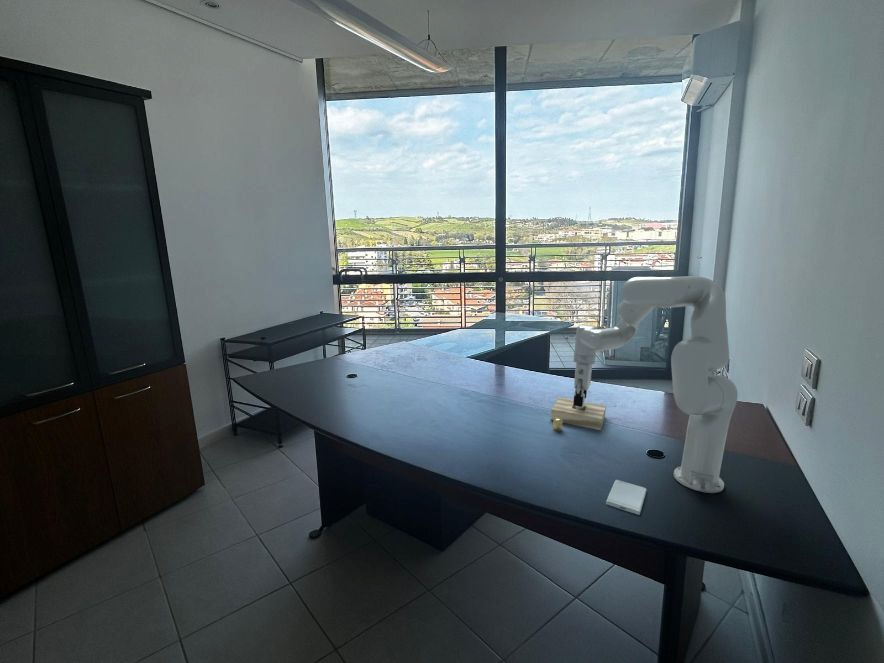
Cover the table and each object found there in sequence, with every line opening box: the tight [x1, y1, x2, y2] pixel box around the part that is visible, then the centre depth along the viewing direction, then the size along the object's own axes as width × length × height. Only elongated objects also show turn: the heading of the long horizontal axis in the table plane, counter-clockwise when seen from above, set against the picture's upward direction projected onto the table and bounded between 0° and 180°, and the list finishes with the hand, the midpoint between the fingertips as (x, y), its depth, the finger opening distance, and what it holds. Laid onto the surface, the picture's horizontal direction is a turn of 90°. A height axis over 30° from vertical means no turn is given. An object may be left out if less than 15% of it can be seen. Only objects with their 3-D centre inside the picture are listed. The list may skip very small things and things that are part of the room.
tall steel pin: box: [575, 393, 586, 410], centre depth 167 cm, size 3×3×10 cm
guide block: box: [550, 396, 607, 431], centre depth 167 cm, size 14×18×4 cm
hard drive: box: [605, 479, 648, 516], centre depth 117 cm, size 2×8×12 cm
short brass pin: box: [552, 417, 564, 432], centre depth 157 cm, size 3×3×4 cm
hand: (579, 401), depth 166 cm, fingers open, 9 cm apart
